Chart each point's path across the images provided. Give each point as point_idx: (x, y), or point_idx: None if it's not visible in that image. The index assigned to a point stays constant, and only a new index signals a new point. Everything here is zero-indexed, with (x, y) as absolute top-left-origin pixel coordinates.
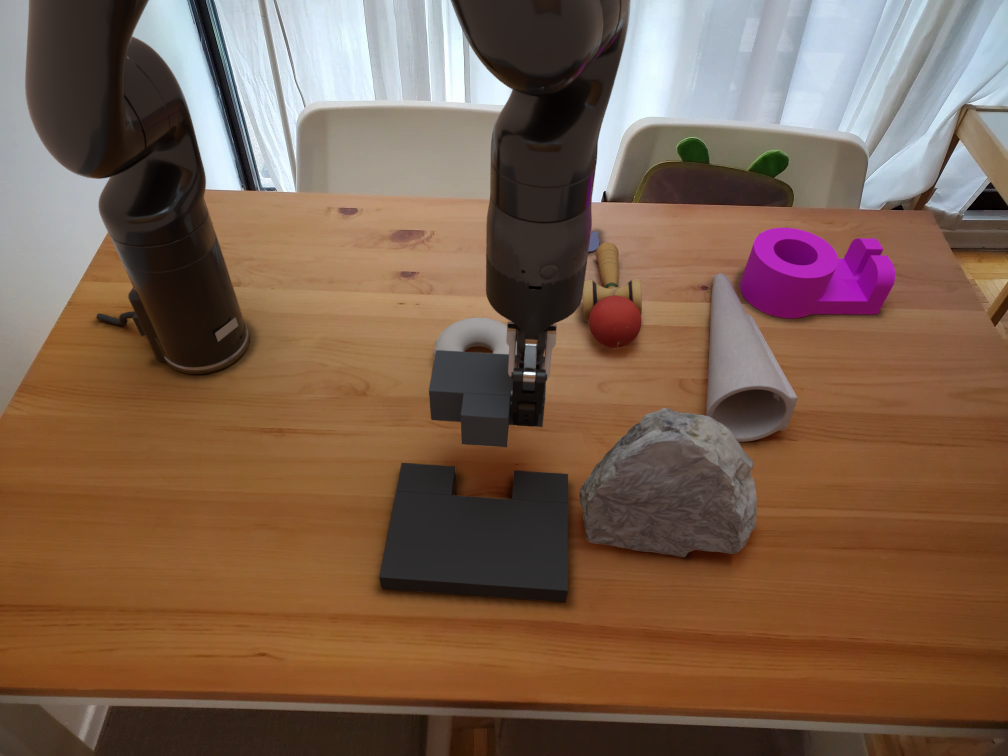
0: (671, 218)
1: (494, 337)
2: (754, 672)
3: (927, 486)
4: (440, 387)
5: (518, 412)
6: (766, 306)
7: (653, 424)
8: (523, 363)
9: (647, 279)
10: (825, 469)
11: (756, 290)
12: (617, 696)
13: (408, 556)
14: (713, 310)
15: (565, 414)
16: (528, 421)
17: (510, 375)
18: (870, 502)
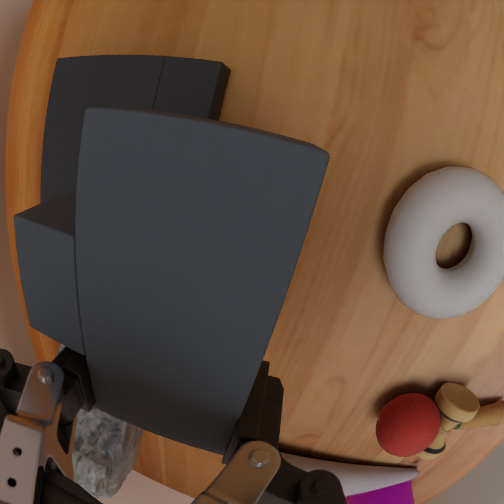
0: (493, 445)
1: (466, 283)
2: (47, 356)
3: (185, 482)
4: (92, 153)
5: (66, 347)
6: None
7: (74, 471)
8: (54, 461)
9: (454, 432)
10: (198, 463)
11: (379, 492)
12: (14, 270)
13: (71, 87)
14: (374, 477)
15: (306, 333)
16: None
17: (8, 416)
18: (171, 464)
